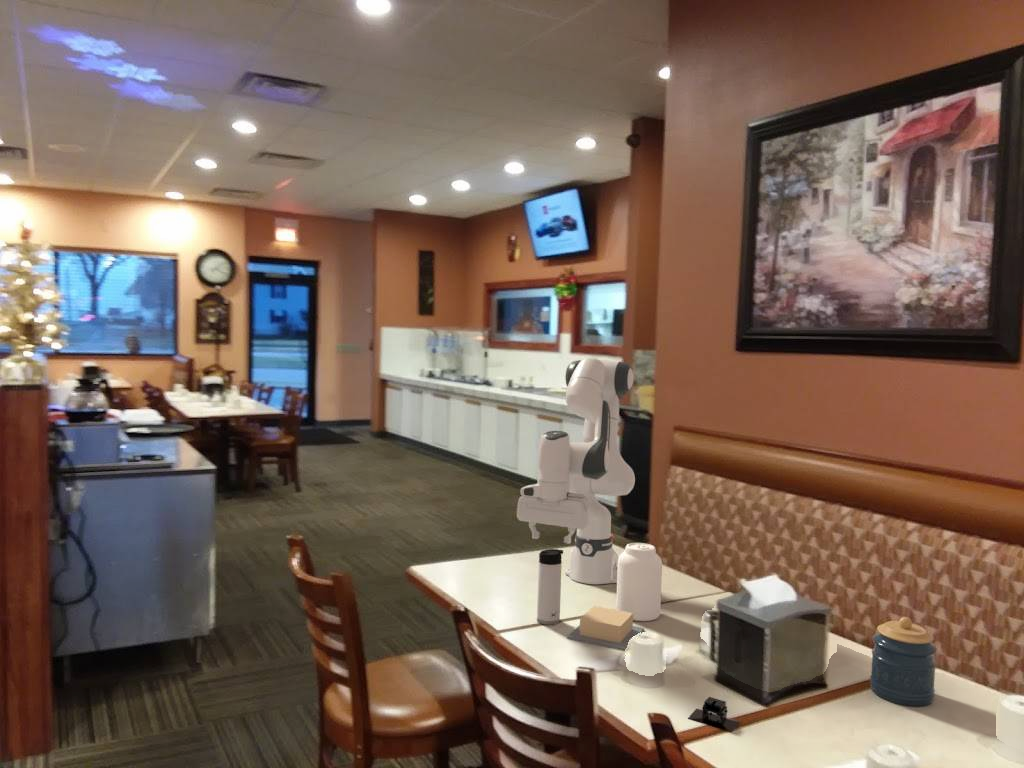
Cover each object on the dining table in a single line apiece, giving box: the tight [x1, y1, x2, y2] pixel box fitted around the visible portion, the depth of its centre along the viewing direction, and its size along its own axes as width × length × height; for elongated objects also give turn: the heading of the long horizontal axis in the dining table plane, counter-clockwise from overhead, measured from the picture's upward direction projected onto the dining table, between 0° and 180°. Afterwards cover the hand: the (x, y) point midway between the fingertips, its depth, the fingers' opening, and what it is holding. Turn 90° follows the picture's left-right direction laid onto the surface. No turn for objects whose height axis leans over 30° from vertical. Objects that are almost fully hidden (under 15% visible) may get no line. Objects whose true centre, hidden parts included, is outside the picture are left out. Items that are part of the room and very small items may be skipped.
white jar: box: [615, 542, 663, 622], centre depth 219 cm, size 12×12×20 cm
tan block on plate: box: [566, 605, 645, 651], centre depth 203 cm, size 16×16×5 cm
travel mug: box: [536, 548, 564, 626], centre depth 211 cm, size 6×7×20 cm
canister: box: [869, 616, 938, 707], centre depth 172 cm, size 13×13×18 cm
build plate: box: [687, 696, 741, 733], centre depth 158 cm, size 12×7×5 cm, turn 56°
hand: (551, 540), depth 210 cm, fingers open, 8 cm apart
